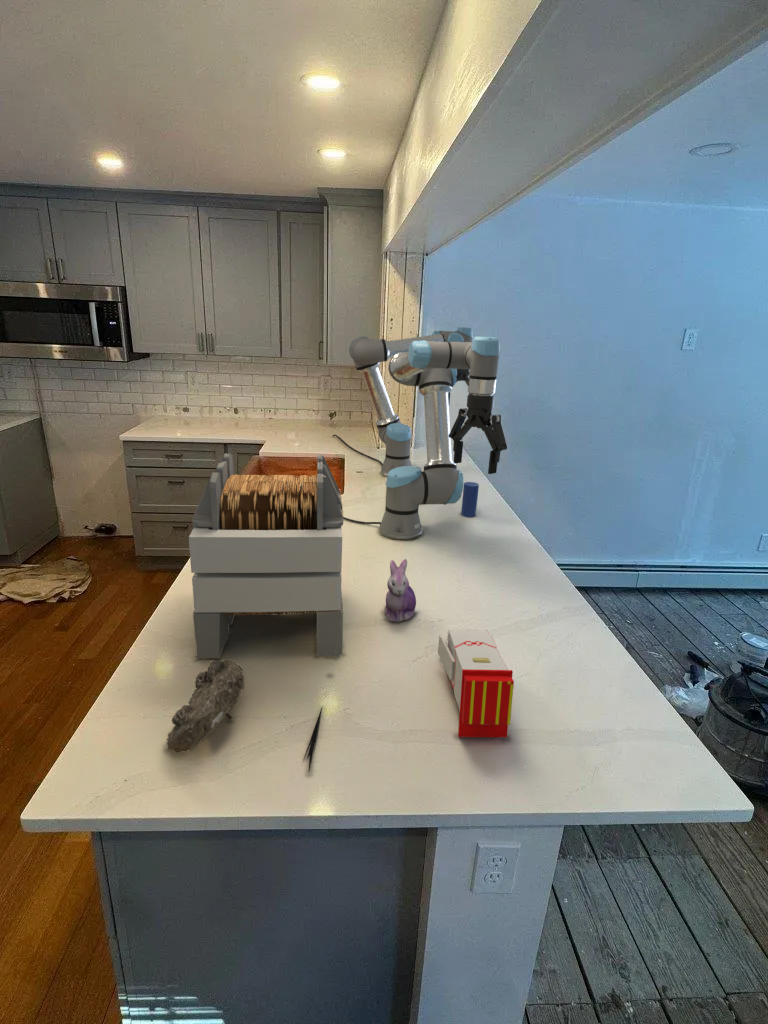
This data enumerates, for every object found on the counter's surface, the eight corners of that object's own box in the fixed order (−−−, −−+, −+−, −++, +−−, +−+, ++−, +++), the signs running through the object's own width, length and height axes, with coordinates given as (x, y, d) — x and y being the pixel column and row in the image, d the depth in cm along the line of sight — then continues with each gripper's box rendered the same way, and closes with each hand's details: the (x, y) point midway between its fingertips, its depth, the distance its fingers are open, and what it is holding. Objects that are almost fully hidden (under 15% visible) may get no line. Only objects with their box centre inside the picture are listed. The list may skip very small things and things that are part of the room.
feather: (331, 679, 122) (336, 673, 122) (307, 777, 96) (313, 769, 95) (324, 675, 122) (329, 669, 121) (298, 772, 95) (304, 764, 95)
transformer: (219, 588, 156) (210, 443, 142) (338, 587, 160) (340, 446, 146) (193, 661, 124) (179, 483, 110) (343, 657, 128) (346, 485, 114)
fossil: (192, 660, 117) (244, 628, 112) (224, 691, 120) (276, 661, 115) (142, 746, 98) (202, 712, 93) (182, 779, 101) (242, 748, 96)
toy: (488, 613, 130) (523, 677, 101) (484, 667, 133) (517, 744, 104) (435, 612, 130) (455, 676, 101) (432, 666, 133) (451, 743, 103)
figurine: (392, 627, 141) (395, 572, 136) (374, 608, 149) (376, 556, 144) (425, 619, 145) (429, 566, 140) (405, 601, 154) (408, 550, 149)
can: (478, 515, 222) (481, 484, 218) (470, 518, 218) (473, 487, 214) (466, 511, 226) (469, 481, 221) (458, 514, 222) (460, 483, 217)
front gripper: (525, 399, 152) (516, 476, 159) (458, 388, 170) (452, 457, 177) (507, 401, 147) (498, 479, 154) (440, 389, 165) (435, 460, 172)
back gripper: (444, 361, 264) (441, 407, 272) (488, 361, 275) (483, 405, 283) (436, 360, 271) (433, 404, 278) (479, 360, 282) (475, 403, 289)
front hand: (474, 468), depth 165 cm, fingers open, 13 cm apart
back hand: (458, 405), depth 280 cm, fingers open, 13 cm apart
